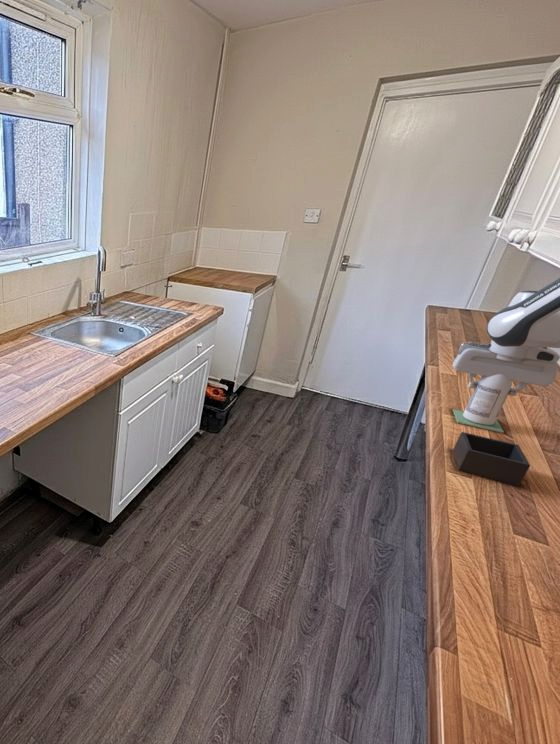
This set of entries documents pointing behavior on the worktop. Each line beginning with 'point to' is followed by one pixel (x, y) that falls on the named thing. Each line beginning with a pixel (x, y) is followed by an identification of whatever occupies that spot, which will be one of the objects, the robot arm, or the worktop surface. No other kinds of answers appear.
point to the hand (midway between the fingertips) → (491, 391)
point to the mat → (463, 420)
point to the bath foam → (487, 399)
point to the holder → (490, 458)
